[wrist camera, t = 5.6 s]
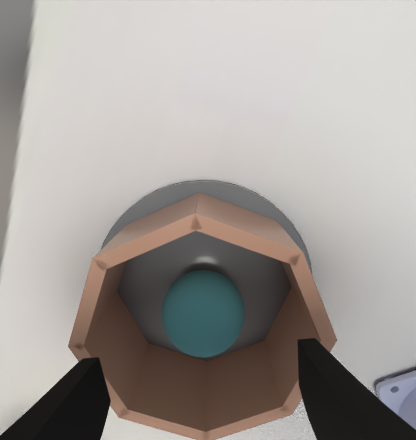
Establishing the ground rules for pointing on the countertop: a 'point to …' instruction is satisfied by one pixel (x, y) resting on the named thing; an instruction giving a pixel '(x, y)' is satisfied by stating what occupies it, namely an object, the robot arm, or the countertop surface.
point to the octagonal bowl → (156, 291)
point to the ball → (203, 313)
